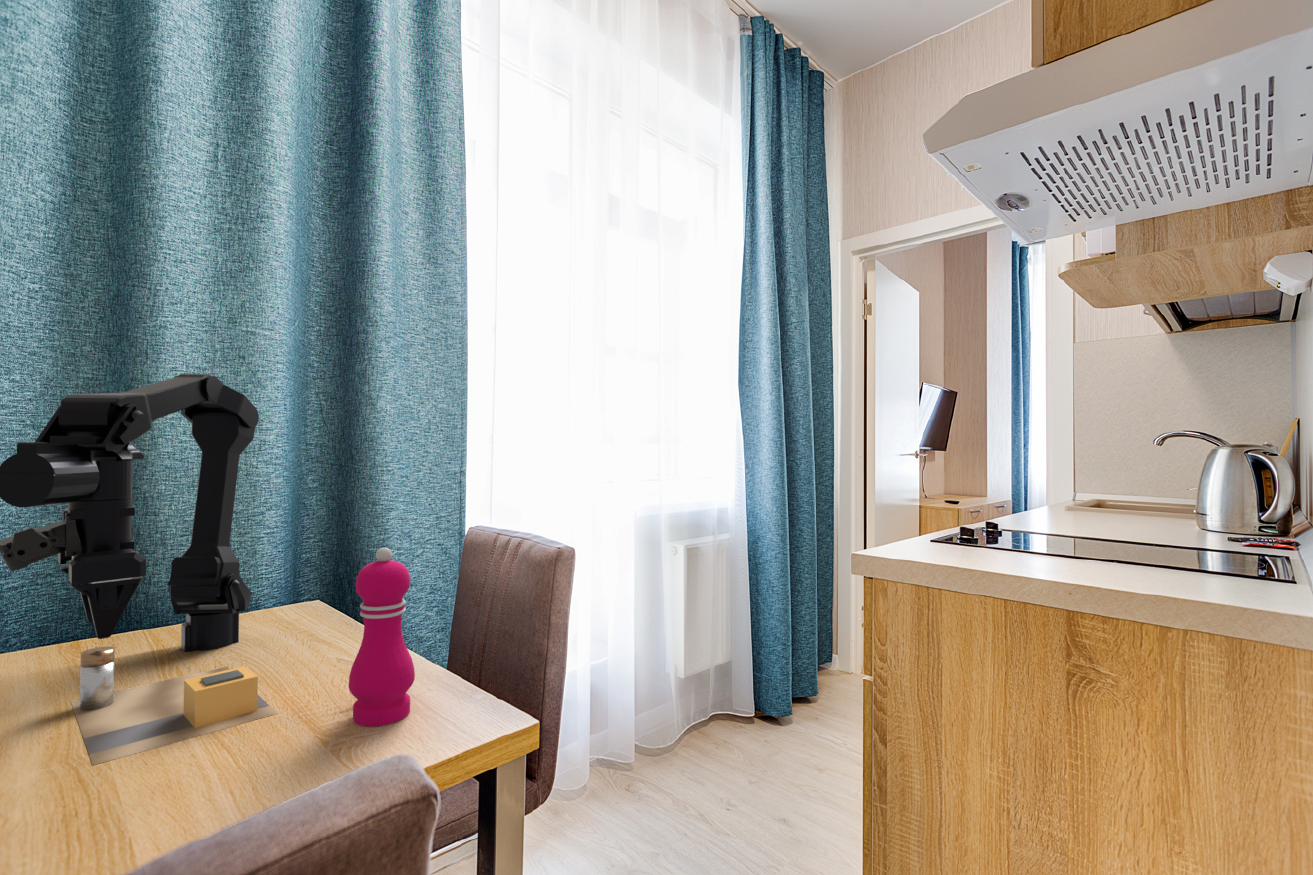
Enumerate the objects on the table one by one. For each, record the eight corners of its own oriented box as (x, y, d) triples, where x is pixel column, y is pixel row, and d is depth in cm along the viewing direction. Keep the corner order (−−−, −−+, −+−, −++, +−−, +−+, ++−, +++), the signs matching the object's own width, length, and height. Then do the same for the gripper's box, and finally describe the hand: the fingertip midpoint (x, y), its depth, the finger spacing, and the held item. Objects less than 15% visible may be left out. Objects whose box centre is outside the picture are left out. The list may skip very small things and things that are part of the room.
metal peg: (111, 697, 76) (112, 644, 76) (115, 705, 74) (116, 650, 74) (78, 705, 74) (79, 650, 74) (81, 712, 72) (82, 656, 72)
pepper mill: (427, 707, 76) (429, 544, 76) (383, 733, 69) (385, 554, 69) (380, 699, 78) (382, 541, 79) (333, 723, 72) (335, 550, 72)
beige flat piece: (227, 673, 87) (227, 666, 87) (277, 721, 72) (278, 713, 72) (70, 709, 75) (70, 700, 75) (92, 775, 60) (92, 765, 60)
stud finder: (243, 698, 76) (244, 663, 76) (257, 710, 73) (257, 673, 73) (183, 714, 71) (183, 677, 71) (194, 727, 68) (195, 688, 68)
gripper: (1, 498, 74) (-1, 628, 74) (4, 510, 62) (2, 666, 62) (122, 493, 83) (120, 610, 83) (147, 502, 70) (145, 641, 70)
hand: (98, 629), depth 74 cm, fingers open, 9 cm apart
